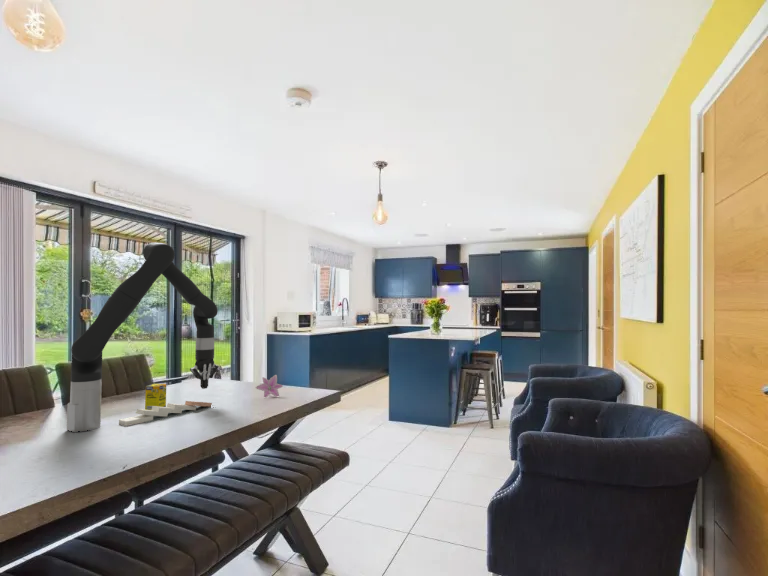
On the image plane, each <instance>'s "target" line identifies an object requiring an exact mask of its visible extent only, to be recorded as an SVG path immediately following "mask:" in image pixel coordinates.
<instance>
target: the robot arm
mask: <svg viewBox="0 0 768 576" xmlns="http://www.w3.org/2000/svg"><path fill="white" fill-rule="evenodd" d="M175 254H176V253H175V250H174V248H173V247H172V246H171V245H169V244H166V243H162V242H150V243H148V244H146V245H145V246H144V248H143V251H142V255H143V258H144V262H143V264H141V266H140V268H139V269H137V271H135V273H133V274H132V275H130V276H129V277H128V278H127V279H125V280H124V281H122V283H120V284H119V285H118V286H117V287H116V289H115V290H114V291H113V292H112V294H111V295H110V296H109V297H108V299H107V300H106V302H105V303H104V305H103V307H102V308H101V310H100V312H99V314H98V315H97V317H96V318H95V320H94V321H93V322H92V323H91V325H90V326H89V327H88V328H87V329H86V331H84V332H83V334H82V335H80V336H79V337H77V339H75V341H74V342H73V343H72V345H71V350H70V351H71V368H70V391H69V392H70V396H69V402H68V403H67V404H66V406H67V410H66V431H68V430H69V431H70V432H71V431H72V432H71V433H79V432H78V431H80V432H87V430H88V431H92V430H94V429H98V428H100V427H101V422H102V421H101V420H102V419H101V417H102V415H101V414H102V384H103V383H102V378H103V350H104V348H105V347H106V345H107V343H108V342H109V341H110V339H111V337H112V336H113V334H114V333H115V332H116V331H117V329H118V328H120V326H121V325H122V324H123V323H124V322H125V321H126V320H127V319H128V317H130V315H131V314H132V313H134V310H135V309H136V308H137V307H138V305H140V303H141V301H142V300H143V298H144V297H145V295H146V294H147V292H149V291H150V289H151V287H152V286H153V285H154V283H155V282H156V281H157V279H158V278H159V277H160V276H161V275H162V276H163V277H164V278H165V279H166V280H168V282H169V283H170V284H171V285H172V287H173V288H174V289H176V291H177V292H178V293H179V294H180V296H181V297H182V298H183V299H184V300H185V302H186V303H188V305H192V306H194V307H193V311H192V315H193V320H194V324H195V327H196V335H195V336H196V338H195V339H196V340H195V353H194V355H195V357H194V358H195V363H194V366H193V367H190V369H189V371H190V372H191V373H192V374H193V376H194V377H195V378H196V379H197V380H199V381H200V382H199V383H200V388H201V389H203V390H204V389H208V387H209V379H211V378H213V376H215V374H216V372H217V370H218V368H219V365H217V364H216V363H215V360H214V359H215V336H214V335H215V330H214V329H215V328H214V325H213V324H212V323H210V322H209V319H214V318H215V317H216V316H217V315H218V310H219V309H218V306H217V305H216V303H215V302H214V301H213V300H212V299H210V297H208V296H207V295H205V294H204V293H203V292H202V291H201V290H200V289H199V287H198V286H197V284H195V282H193V280H192V279H191V278H189V277H188V276H187V275H186V274H185V273H184V272H183V271H182V270H180V269H179V268H178V267H177V266H176V264H175V263H174V260H175ZM69 431H68V432H69Z"/></svg>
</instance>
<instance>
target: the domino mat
mask: <svg viewBox="0 0 768 576" xmlns="http://www.w3.org/2000/svg"><path fill="white" fill-rule="evenodd" d="M210 409H215V408H214V407H213V408H211V407H208V406H197V407H196V410H185V409H183V410H182V413H169V412H168V416H167V417H164V416H153V420H151V421H146V422H143V423H145V424H149V423H154V422H157V421H162V420H167V419H171V418H175V417H180V416H185V415H188V414H189V415H190V414H193V413H197V412H202V411H206V410H207V411H208V410H210Z"/></svg>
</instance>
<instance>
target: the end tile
mask: <svg viewBox="0 0 768 576" xmlns="http://www.w3.org/2000/svg"><path fill="white" fill-rule="evenodd" d="M151 420H153V416H151V415H141V414H138V415H134V416H130V417H127V418H126V417H125V418H121V419H118V425H121V426H124V427H128V426H133V425H137V424H141V423H144V422H146V421H151Z"/></svg>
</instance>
